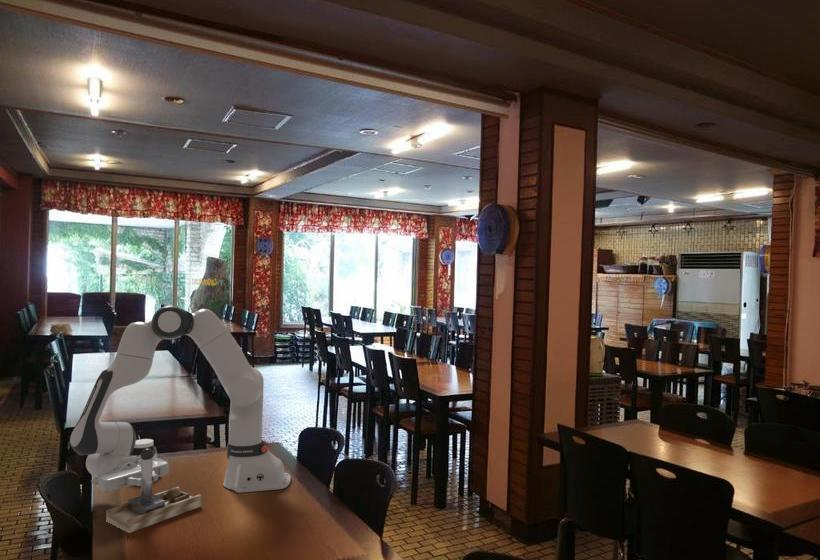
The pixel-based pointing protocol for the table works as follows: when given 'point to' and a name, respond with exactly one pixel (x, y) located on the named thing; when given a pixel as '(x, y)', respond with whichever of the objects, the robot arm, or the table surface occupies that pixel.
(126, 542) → the table surface
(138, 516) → the press base
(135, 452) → the spread jar
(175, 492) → the walnut
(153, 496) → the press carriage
